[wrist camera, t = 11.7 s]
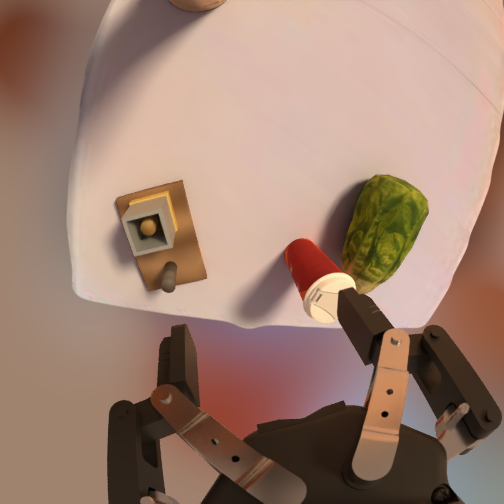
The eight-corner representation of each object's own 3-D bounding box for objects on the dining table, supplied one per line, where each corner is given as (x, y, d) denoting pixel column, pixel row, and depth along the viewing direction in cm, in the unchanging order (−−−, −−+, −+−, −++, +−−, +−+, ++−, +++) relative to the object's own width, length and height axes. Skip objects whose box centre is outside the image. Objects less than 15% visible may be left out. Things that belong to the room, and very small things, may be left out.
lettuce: (313, 269, 49) (340, 308, 39) (358, 159, 41) (401, 176, 31) (362, 278, 53) (391, 313, 43) (405, 182, 44) (447, 202, 35)
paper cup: (270, 264, 47) (295, 319, 35) (292, 225, 44) (328, 270, 32) (307, 278, 50) (339, 330, 38) (329, 242, 47) (370, 287, 35)
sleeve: (131, 200, 37) (119, 217, 30) (168, 190, 37) (162, 206, 31) (142, 235, 39) (133, 258, 33) (178, 227, 40) (174, 248, 34)
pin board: (117, 197, 37) (104, 212, 31) (182, 180, 38) (179, 192, 32) (149, 287, 45) (144, 312, 39) (206, 274, 46) (208, 299, 40)
